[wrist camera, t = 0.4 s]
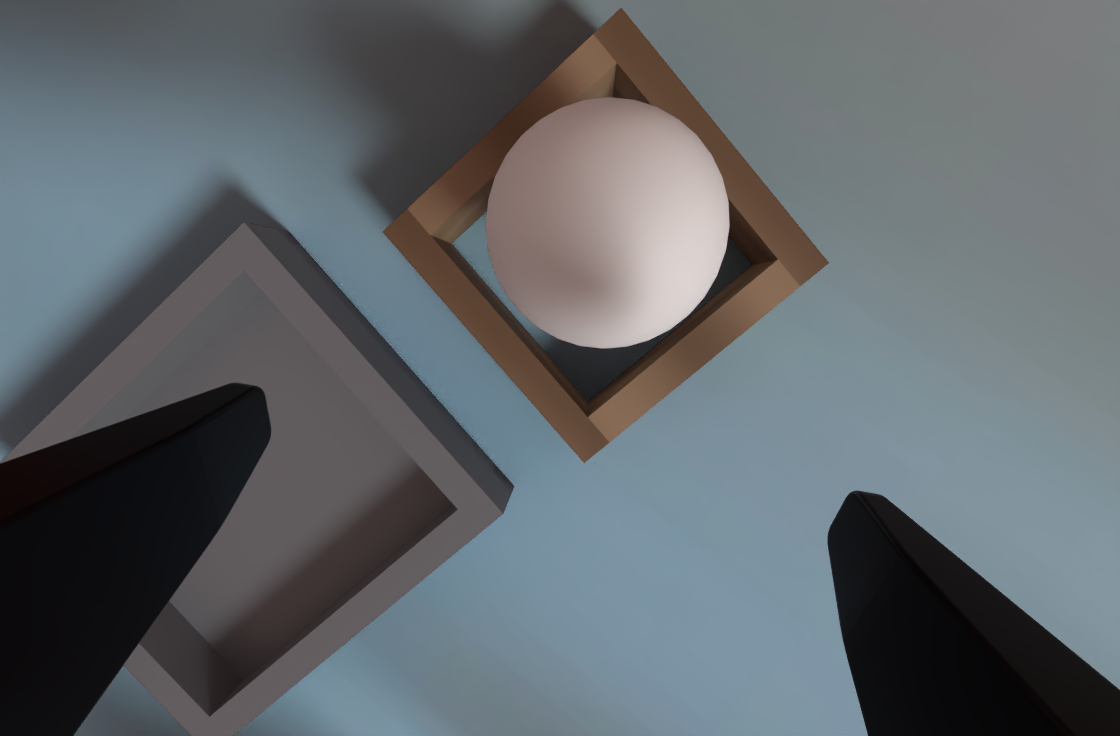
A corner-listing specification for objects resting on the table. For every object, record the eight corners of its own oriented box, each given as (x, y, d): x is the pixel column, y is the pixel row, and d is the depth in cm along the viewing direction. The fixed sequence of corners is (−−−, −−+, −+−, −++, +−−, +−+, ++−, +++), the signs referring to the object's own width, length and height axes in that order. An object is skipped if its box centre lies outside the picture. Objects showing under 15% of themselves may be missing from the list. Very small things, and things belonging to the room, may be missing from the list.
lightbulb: (577, 359, 23) (564, 414, 12) (494, 231, 22) (402, 167, 11) (706, 276, 22) (820, 255, 11) (624, 143, 22) (658, -16, 11)
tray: (254, 701, 25) (209, 755, 22) (38, 474, 25) (-38, 498, 22) (514, 486, 24) (503, 513, 21) (289, 232, 23) (243, 221, 20)
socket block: (584, 441, 23) (584, 462, 20) (410, 240, 22) (382, 231, 20) (796, 267, 22) (828, 262, 19) (616, 48, 21) (621, 7, 18)
